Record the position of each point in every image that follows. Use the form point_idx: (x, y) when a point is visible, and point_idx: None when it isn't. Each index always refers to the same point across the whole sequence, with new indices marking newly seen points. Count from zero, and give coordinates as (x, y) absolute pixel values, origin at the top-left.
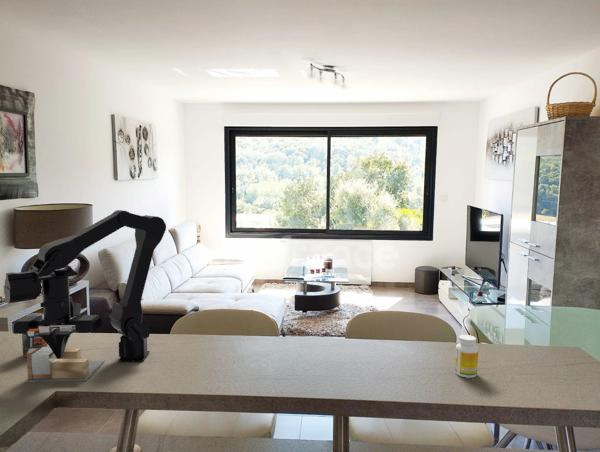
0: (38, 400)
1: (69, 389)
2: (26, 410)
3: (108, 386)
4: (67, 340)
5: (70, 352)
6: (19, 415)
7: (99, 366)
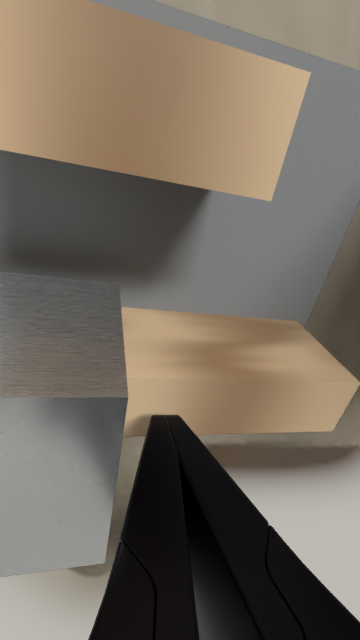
0: (124, 499)
1: (217, 434)
2: (113, 541)
3: (356, 415)
4: (307, 582)
5: (197, 186)
6: (105, 558)
7: (357, 199)
